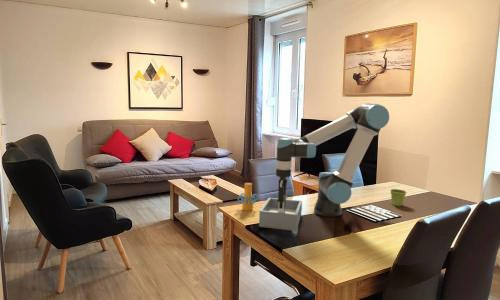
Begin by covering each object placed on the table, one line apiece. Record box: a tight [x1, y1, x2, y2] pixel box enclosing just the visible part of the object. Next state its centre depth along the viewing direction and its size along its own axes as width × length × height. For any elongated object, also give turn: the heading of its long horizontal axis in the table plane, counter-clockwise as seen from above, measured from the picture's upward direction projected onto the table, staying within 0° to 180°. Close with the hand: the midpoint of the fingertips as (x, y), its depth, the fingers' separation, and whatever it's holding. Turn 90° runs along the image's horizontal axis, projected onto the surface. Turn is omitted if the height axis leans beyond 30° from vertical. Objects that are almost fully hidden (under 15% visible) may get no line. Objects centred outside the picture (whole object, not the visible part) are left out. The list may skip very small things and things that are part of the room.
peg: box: [278, 194, 287, 213], centre depth 188 cm, size 4×4×12 cm
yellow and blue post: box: [237, 182, 259, 212], centre depth 204 cm, size 12×10×15 cm
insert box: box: [258, 197, 303, 232], centre depth 188 cm, size 18×24×8 cm
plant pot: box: [389, 188, 408, 207], centre depth 222 cm, size 9×9×9 cm
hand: (281, 212), depth 188 cm, fingers closed on peg, 4 cm apart
